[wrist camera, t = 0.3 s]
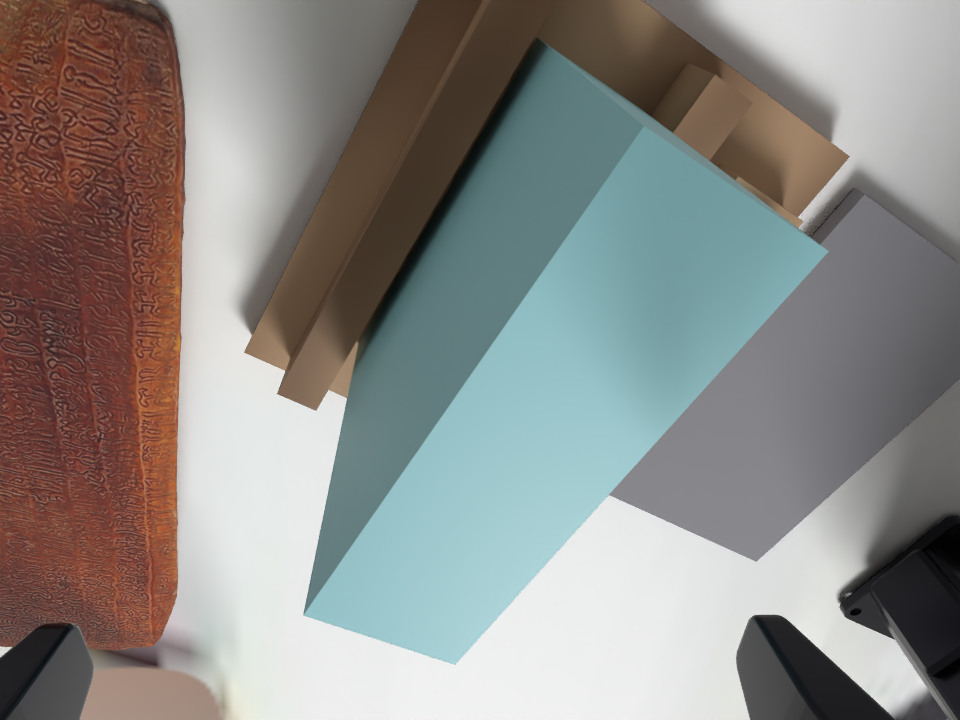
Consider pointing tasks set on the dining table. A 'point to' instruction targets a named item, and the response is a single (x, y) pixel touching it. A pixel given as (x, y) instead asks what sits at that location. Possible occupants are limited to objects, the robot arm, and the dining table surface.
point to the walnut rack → (457, 127)
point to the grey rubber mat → (811, 387)
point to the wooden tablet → (89, 318)
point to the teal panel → (535, 354)
